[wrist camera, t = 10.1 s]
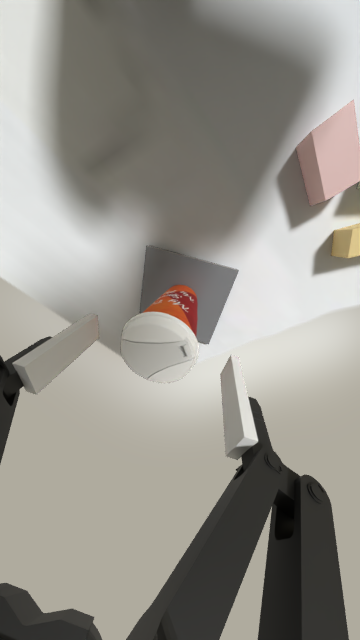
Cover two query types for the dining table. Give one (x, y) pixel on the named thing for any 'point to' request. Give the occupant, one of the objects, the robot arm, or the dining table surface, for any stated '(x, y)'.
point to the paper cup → (163, 337)
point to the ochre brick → (346, 242)
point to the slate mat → (188, 284)
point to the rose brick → (331, 156)
